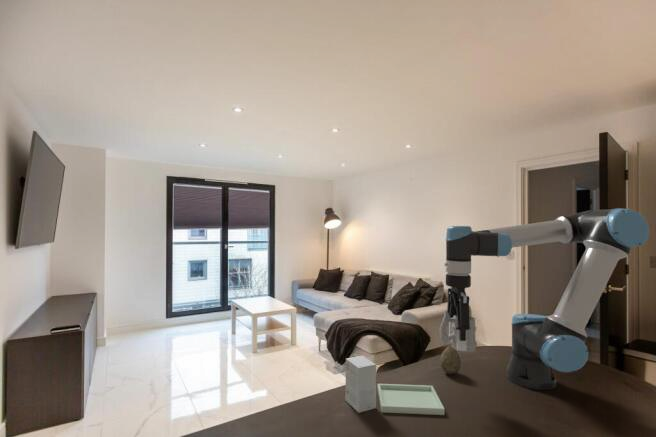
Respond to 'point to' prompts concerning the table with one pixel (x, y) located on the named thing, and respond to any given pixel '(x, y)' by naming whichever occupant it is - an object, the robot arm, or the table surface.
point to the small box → (360, 383)
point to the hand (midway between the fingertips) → (457, 345)
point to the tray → (409, 399)
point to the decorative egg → (450, 361)
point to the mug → (453, 337)
